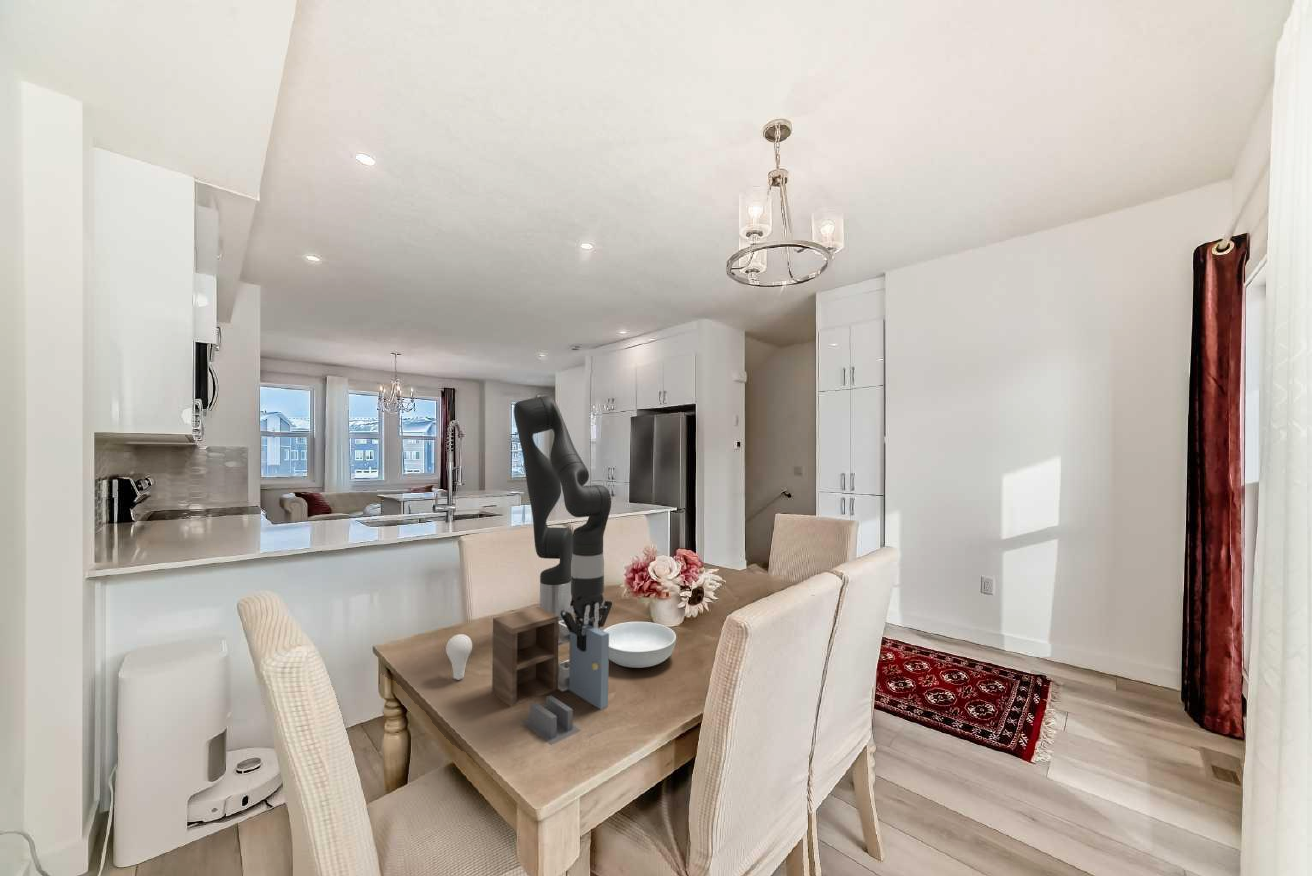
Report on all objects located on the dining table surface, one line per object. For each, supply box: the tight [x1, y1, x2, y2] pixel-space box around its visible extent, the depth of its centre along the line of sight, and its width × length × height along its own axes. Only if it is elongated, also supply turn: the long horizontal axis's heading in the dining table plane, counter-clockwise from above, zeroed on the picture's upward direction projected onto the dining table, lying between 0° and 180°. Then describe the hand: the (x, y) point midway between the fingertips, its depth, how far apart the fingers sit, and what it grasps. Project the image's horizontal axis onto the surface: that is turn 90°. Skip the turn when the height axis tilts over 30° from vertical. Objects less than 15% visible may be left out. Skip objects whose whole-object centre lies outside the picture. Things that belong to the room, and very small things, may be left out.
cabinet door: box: [558, 619, 610, 710], centre depth 117 cm, size 4×16×16 cm, turn 45°
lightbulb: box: [445, 633, 473, 681], centre depth 126 cm, size 6×6×11 cm
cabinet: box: [491, 606, 570, 707], centre depth 120 cm, size 17×11×18 cm, turn 135°
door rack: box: [521, 694, 582, 746], centre depth 104 cm, size 7×11×5 cm, turn 45°
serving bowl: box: [602, 621, 677, 669], centre depth 139 cm, size 21×21×7 cm
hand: (586, 648), depth 116 cm, fingers closed on cabinet door, 2 cm apart
